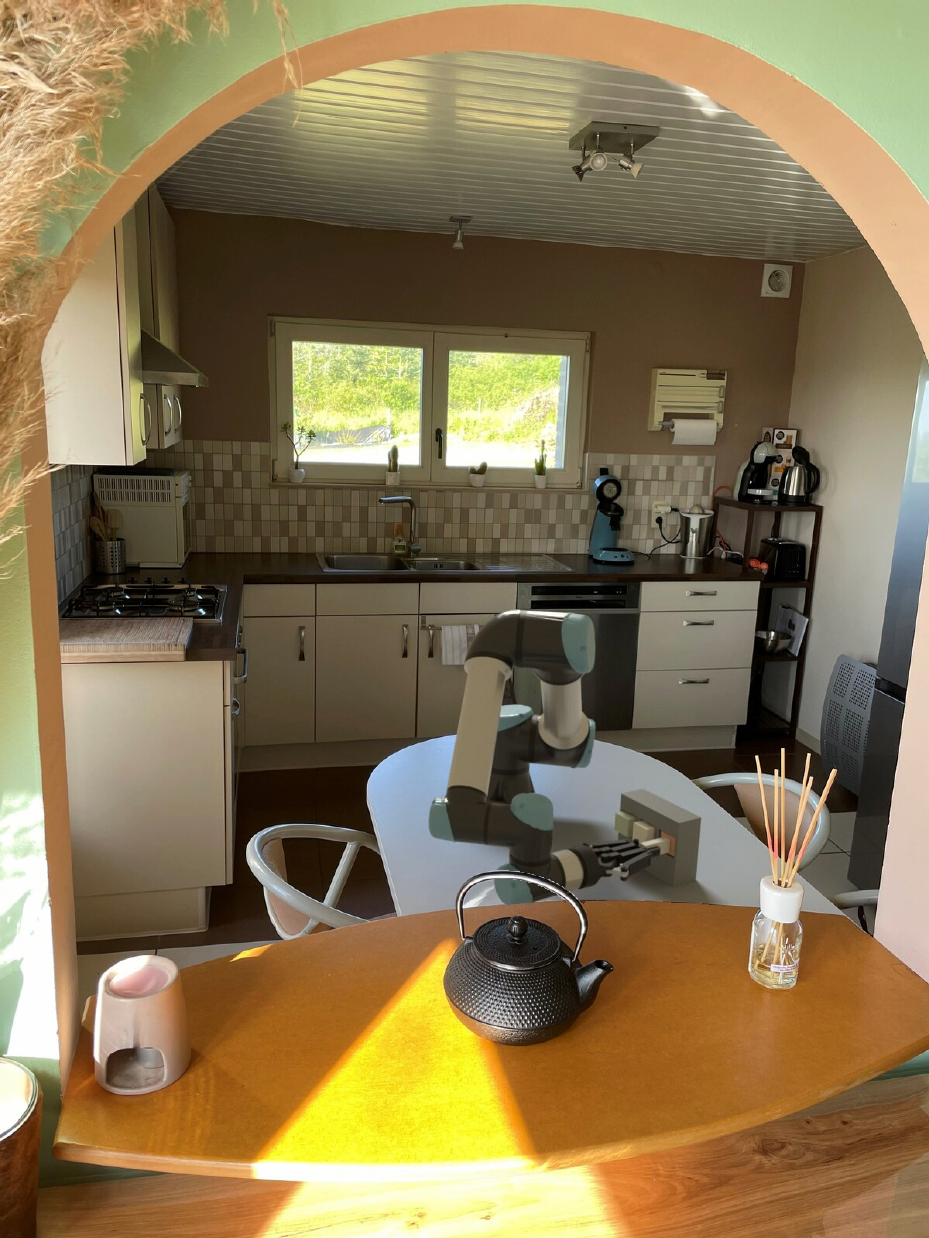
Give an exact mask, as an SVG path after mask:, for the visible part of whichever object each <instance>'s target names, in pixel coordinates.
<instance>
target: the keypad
mask: <svg viewBox="0 0 929 1238" xmlns="http://www.w3.org/2000/svg"><path fill="white" fill-rule="evenodd" d="M621 811H626V812H628V813H630V814H632V815H634V816H636V817H637V822H638V821H642V820H643V821H645V822H647V823H649V824H651V825H652V826H654V827H656V830H655V839H658V838H661V831H664V832H666V833H667V834H669V835H671V836H673V837H675V850H674V856H672V855H671V854H669V853H665V854H661V855H659V856H655V857H651V865H650V866H648V867H646V868H645V869H643V870H644V871H646V872H648V873H650V875H653V876H655V877H656V878H658V879H660V880H661V881H663V882H664V883H667V884H668V885H670V886H671V887H676V886H680V885H684V884H687V883H689V882H692V881H696V880H697V872H698V871H697V870H698V859H699V858H698V857H699V850H700V849H699V847H700V837H701V836H700V835H701V824H702V817H701V816H699V815H697V814H695V813H693V812H691V811H689V810H687V809H685V808H683V807H681V806H679V805H678V804H675V803H673V802H671V801H669V800H666V799H664V798H663V797H660V796H659V795H656V794H655V793H653V792H650V791H648V790H646V789H645V788H639V789H636V790H635V789H634V790H630V791H627V792H622V793H620V806H619V812H621ZM617 835H618V836H617V840H624V839H628V840H630V843H633V842H634V841H633V840H632V838H633V836H630V837H626V836H624V835H622V834H621V833H619V832H618V833H617Z"/></svg>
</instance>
